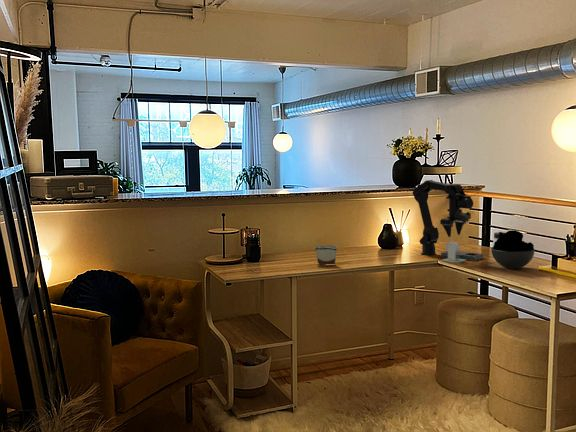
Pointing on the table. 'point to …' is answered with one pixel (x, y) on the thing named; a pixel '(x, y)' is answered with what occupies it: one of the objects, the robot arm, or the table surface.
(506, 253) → the bowl of black rocks
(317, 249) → the food container
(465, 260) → the mat
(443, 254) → the rail
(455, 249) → the block
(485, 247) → the table surface
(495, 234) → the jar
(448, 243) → the block
